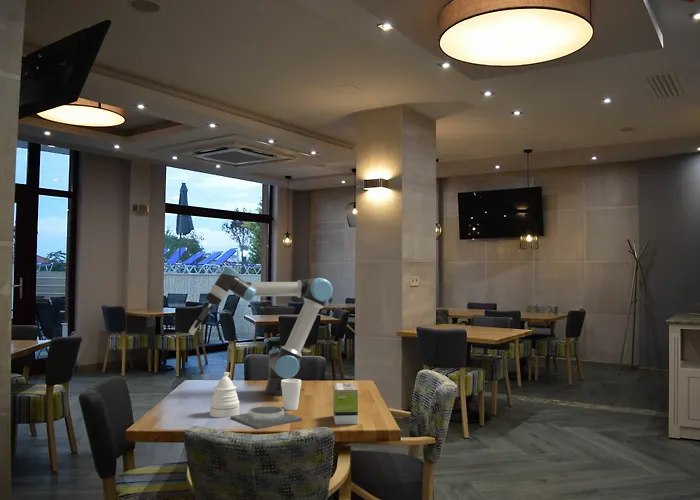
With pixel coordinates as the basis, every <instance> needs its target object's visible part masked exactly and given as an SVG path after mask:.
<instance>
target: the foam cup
mask: <svg viewBox="0 0 700 500" xmlns="http://www.w3.org/2000/svg"><path fill="white" fill-rule="evenodd" d="M281 386H282V395H281V396H282V401H283V402H282V405H283V409H284V411H296V410H298V409H299V402H300V395H301V394H300V393H301V387H302V379H299V378H291V379H283V380H281Z"/></svg>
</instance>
